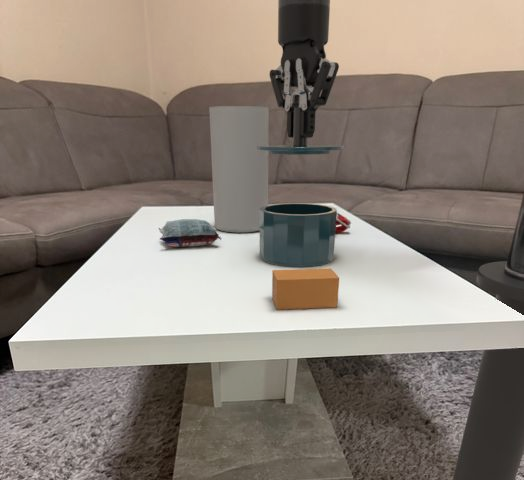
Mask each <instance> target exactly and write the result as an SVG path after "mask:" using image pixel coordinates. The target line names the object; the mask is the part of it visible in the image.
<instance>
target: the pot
mask: <svg viewBox="0 0 524 480" xmlns="http://www.w3.org/2000/svg"><path fill="white" fill-rule="evenodd" d="M337 209H338V208H337V207H333V206H331V205H325V204H319V203H309V202H308V203H307V202H305V203H303V202H299V203H298V202H291V203H289V202H288V203H287V202H286V203H285V202H284V203H274V204H268V205H267V206H263V207H261V208H260V231H259V258H260V260H261V261H262V262H265V263H268V264H270V265H274V266H278V267H279V266H280V267H288V268H289V267H290V268H309V267H317V266H322V265H323V266H324V265H326V264H329V263H331V262H332V261H333V260H334V256H335V245H336V244H335V243H336V233H335V230H336V227H337V225H336V216H337V213H338V210H337Z"/></svg>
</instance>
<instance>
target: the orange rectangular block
mask: <svg viewBox="0 0 524 480" xmlns="http://www.w3.org/2000/svg"><path fill="white" fill-rule="evenodd" d="M271 272H272V273H271V274H272V275H271V276H272V277H271V278H272V280H271V283H272V284H271V285H272V286H271V295H272V296H271V299H272V301H273V305H274V307H275V309H276V311H278V310H279V311H280V310H303V309H329V308H338V301H339V289H340V277H339V275H337V273H336V272H335V271H334V270H333V269H332V268H331V267H330V268H301V269H300V268H298V269H273V270H272V271H271Z"/></svg>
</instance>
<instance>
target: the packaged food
mask: <svg viewBox="0 0 524 480" xmlns="http://www.w3.org/2000/svg"><path fill="white" fill-rule="evenodd" d="M157 228H158V230H159V233H160V234H162V236H161V237H160V238H159V241H162V242H164V243H165V244H166V245H168V246H169V247H173V248H174V247H178V248H182V247H183V248H184V247H185V248H186V247H187V248H188V247H200V246H206V245H210V244H212V243H214V242H215V241H217V240H220V241H222V237H221V236H219V233H218V232H217V231H218V229H217V228H216V227H213V226H212V224H211V223H210V222H208V221H207V220H205V219H198V218H181V219H176V220H169V221H168V220H167V221H166V222H165V224H164V226H162V227H161V228H160V227H157Z"/></svg>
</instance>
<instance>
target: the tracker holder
mask: <svg viewBox="0 0 524 480" xmlns="http://www.w3.org/2000/svg"><path fill="white" fill-rule="evenodd" d="M351 224H352V222H351V220H350V219H349V218H347V217H346V216H344V215H343V214H341V213H339V212H337V216H336V230H335V234H336V233H337V234H338V233H343V232H345V231H347V230H348V229H350V228H351Z"/></svg>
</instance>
